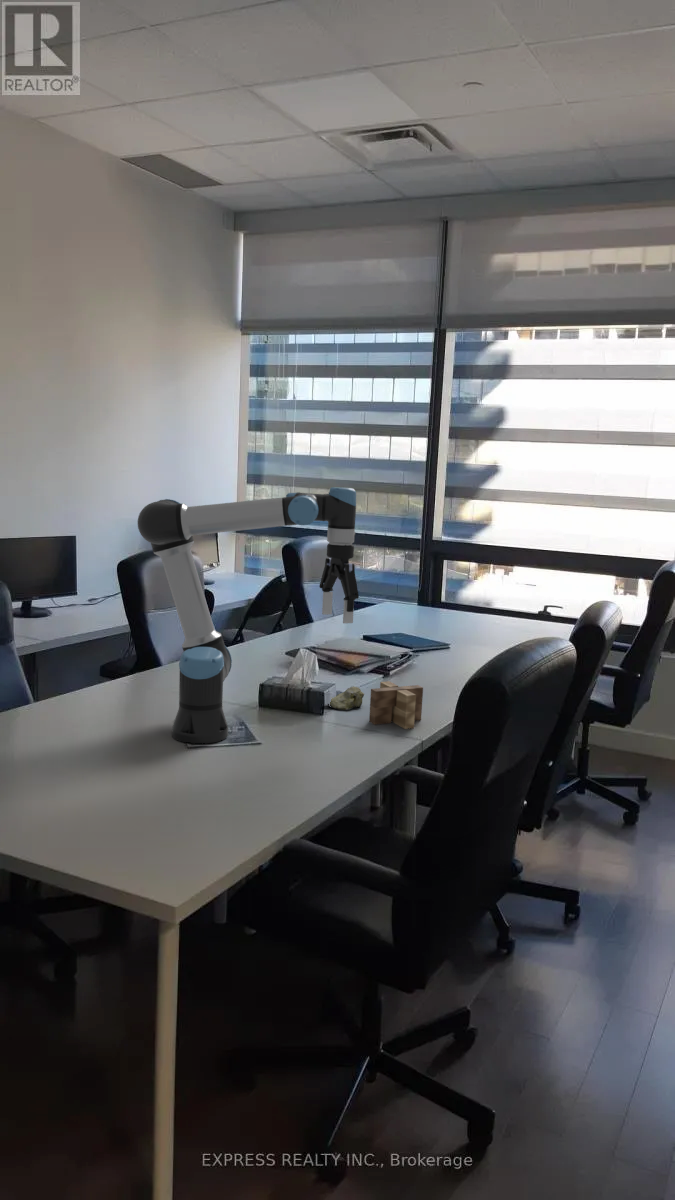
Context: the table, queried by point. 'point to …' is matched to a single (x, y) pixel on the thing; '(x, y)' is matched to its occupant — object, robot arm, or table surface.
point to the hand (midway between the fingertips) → (337, 618)
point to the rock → (347, 699)
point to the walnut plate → (391, 703)
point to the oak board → (402, 707)
